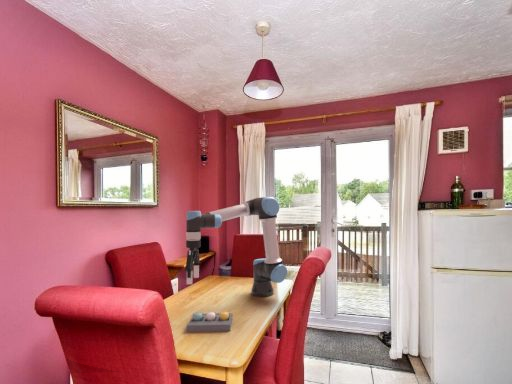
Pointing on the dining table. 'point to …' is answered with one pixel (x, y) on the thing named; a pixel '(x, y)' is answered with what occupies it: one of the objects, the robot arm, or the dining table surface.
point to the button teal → (197, 316)
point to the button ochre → (224, 316)
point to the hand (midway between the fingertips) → (192, 280)
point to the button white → (210, 316)
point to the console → (209, 324)
